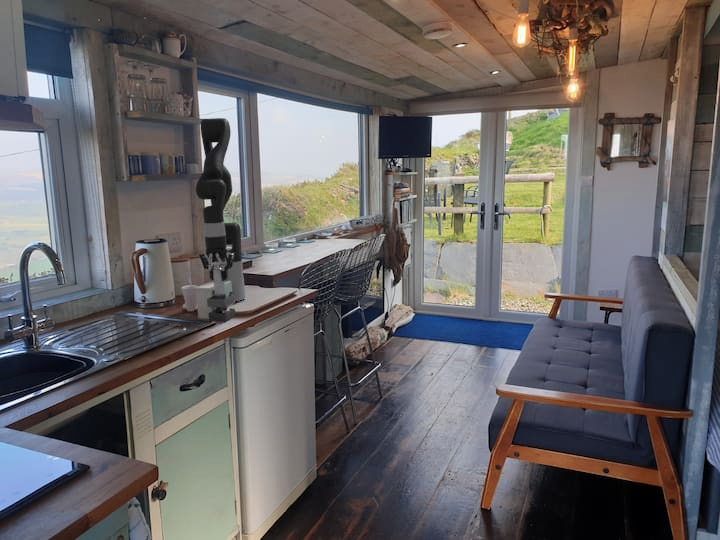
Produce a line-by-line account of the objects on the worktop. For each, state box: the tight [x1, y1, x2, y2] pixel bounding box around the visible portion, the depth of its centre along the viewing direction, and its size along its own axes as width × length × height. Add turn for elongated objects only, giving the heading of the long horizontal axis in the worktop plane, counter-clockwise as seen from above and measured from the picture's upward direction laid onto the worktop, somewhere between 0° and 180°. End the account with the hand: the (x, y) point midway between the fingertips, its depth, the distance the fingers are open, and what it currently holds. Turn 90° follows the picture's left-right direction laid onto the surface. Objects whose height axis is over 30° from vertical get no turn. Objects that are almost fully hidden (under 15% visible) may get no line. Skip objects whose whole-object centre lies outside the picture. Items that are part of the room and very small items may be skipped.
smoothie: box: [180, 275, 199, 312], centre depth 217 cm, size 6×6×14 cm
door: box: [212, 267, 234, 312], centre depth 205 cm, size 4×10×16 cm, turn 165°
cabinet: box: [196, 281, 236, 323], centre depth 207 cm, size 13×13×12 cm
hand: (219, 279), depth 202 cm, fingers closed on door, 4 cm apart
